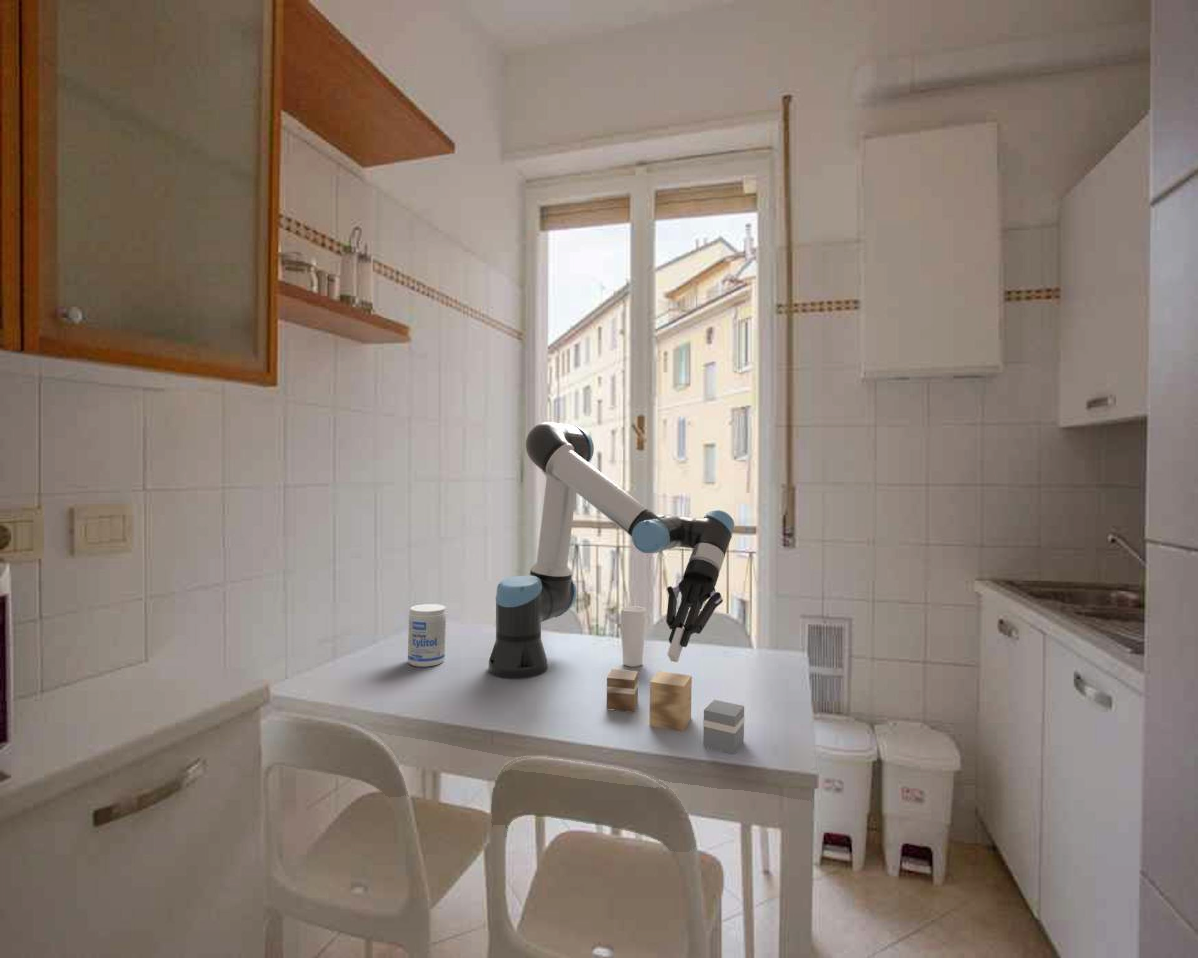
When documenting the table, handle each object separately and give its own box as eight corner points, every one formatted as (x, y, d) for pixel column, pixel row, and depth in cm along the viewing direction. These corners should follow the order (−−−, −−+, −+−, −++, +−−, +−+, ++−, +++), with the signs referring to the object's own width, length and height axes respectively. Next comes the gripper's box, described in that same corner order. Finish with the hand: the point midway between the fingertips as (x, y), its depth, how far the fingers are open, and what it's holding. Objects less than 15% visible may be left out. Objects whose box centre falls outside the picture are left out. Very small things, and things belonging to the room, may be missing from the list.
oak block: (649, 725, 122) (650, 681, 122) (658, 712, 129) (659, 671, 129) (683, 731, 120) (683, 686, 120) (690, 718, 126) (691, 675, 126)
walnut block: (606, 709, 130) (606, 677, 130) (611, 699, 136) (611, 668, 136) (634, 712, 129) (634, 680, 129) (638, 701, 135) (638, 670, 135)
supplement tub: (409, 669, 154) (410, 612, 154) (406, 658, 163) (406, 604, 163) (448, 665, 158) (448, 609, 158) (442, 655, 167) (443, 602, 166)
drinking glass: (637, 670, 156) (638, 612, 156) (615, 665, 160) (616, 609, 160) (649, 663, 162) (650, 607, 162) (627, 658, 166) (628, 604, 165)
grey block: (702, 746, 113) (703, 709, 113) (713, 734, 118) (714, 699, 118) (734, 754, 110) (735, 716, 110) (744, 741, 115) (744, 705, 115)
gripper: (734, 580, 137) (706, 673, 123) (682, 574, 144) (649, 662, 130) (727, 560, 133) (697, 653, 119) (673, 555, 139) (638, 643, 125)
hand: (672, 658), depth 124 cm, fingers closed
